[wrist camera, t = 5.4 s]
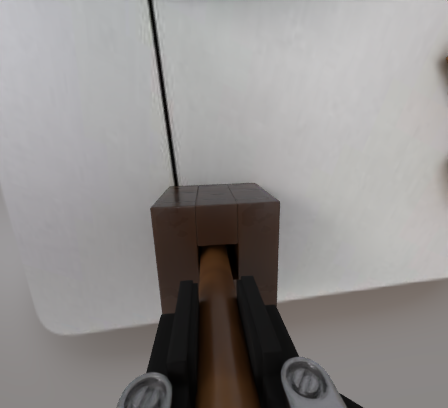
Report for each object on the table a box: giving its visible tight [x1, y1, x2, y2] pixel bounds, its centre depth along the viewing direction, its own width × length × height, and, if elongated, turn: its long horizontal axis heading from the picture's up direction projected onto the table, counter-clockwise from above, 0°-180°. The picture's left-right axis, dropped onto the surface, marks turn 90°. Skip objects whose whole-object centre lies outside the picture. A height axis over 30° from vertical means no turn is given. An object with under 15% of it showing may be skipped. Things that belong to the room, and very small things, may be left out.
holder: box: [150, 183, 280, 314], centre depth 17 cm, size 7×7×7 cm
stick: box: [195, 244, 261, 408], centre depth 12 cm, size 2×2×14 cm
